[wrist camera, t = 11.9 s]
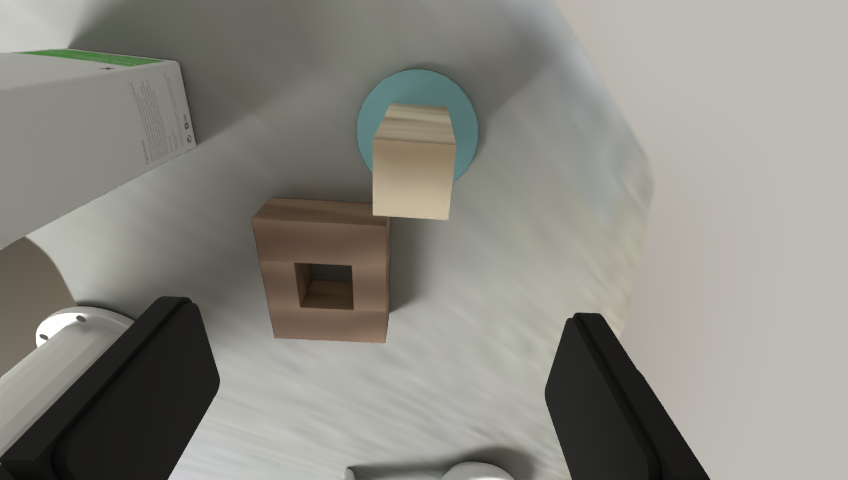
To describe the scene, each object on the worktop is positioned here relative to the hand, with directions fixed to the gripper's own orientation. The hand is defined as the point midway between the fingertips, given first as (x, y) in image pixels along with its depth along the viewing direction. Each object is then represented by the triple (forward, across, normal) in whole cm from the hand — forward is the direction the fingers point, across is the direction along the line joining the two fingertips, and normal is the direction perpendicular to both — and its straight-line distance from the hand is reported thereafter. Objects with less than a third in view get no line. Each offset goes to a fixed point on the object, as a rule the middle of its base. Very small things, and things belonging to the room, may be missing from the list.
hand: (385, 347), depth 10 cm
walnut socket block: (+22, +6, +12) cm, 26 cm away
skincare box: (+22, +20, -2) cm, 30 cm away
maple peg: (+21, -1, -1) cm, 21 cm away
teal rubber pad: (+22, -1, 0) cm, 22 cm away
